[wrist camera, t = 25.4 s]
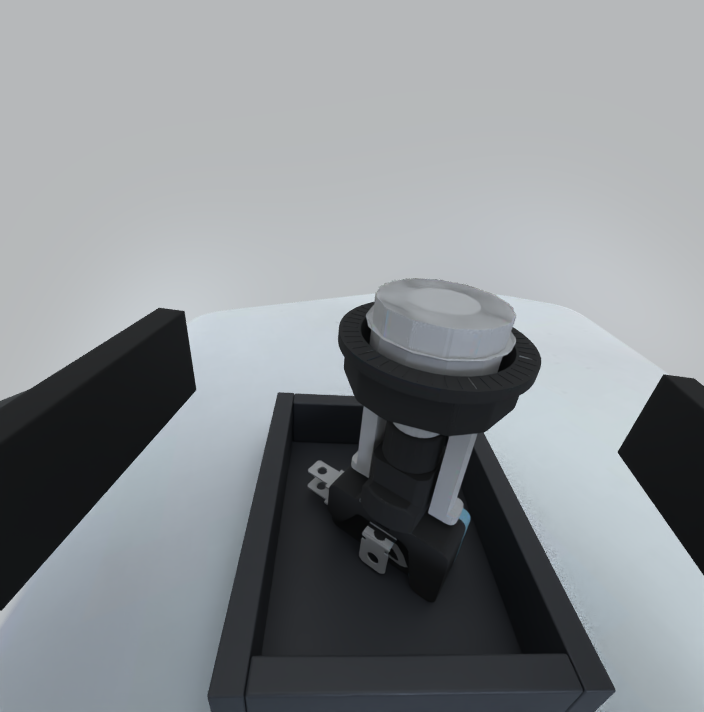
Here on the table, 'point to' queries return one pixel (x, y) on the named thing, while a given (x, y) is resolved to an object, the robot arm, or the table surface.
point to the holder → (392, 599)
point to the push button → (421, 418)
